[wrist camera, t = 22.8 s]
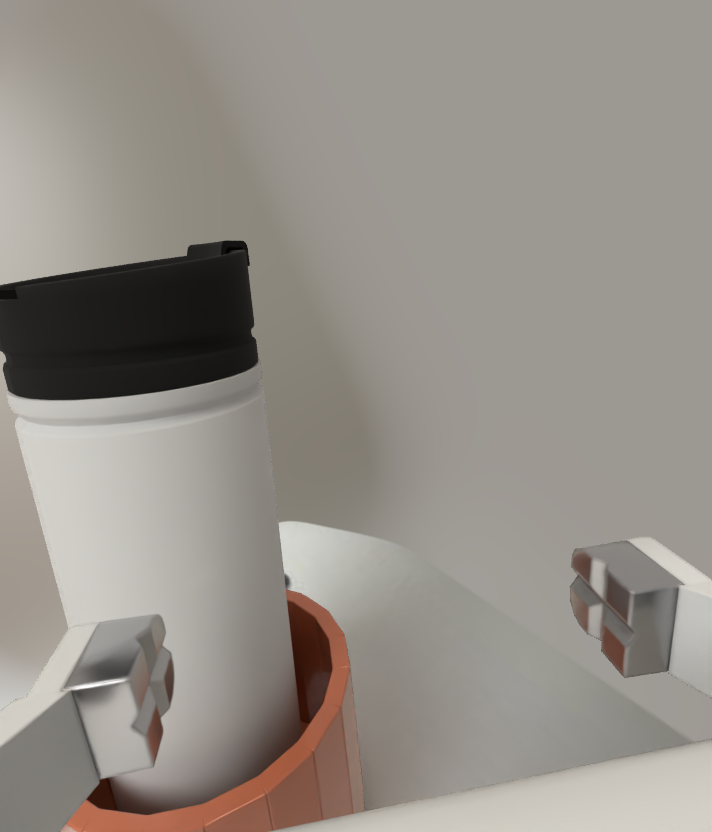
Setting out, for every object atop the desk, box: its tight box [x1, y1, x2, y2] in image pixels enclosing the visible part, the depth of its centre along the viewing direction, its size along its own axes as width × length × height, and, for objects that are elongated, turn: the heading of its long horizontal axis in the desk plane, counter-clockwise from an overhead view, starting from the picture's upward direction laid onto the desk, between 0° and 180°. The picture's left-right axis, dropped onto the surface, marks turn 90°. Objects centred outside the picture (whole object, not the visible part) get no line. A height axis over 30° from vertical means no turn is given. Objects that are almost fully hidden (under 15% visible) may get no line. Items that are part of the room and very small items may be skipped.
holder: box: [60, 589, 365, 832], centre depth 17 cm, size 10×10×7 cm
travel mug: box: [0, 241, 302, 815], centre depth 15 cm, size 6×7×20 cm
